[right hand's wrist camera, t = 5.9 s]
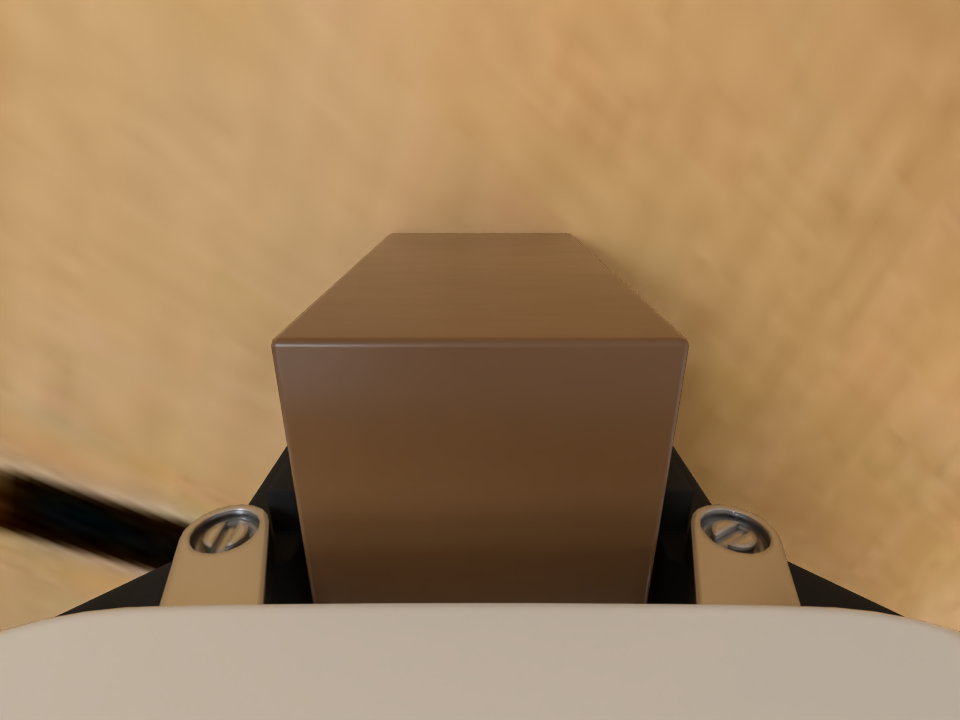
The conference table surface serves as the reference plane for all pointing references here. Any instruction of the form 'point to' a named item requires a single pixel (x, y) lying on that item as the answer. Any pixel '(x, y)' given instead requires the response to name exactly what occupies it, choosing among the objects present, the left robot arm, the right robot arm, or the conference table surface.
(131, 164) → the conference table surface
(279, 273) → the conference table surface
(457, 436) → the beam
